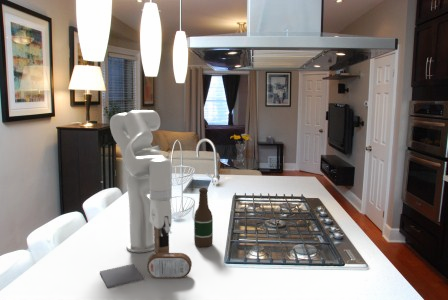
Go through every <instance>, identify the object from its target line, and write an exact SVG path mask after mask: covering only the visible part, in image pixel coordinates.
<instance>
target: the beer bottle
mask: <svg viewBox="0 0 448 300" xmlns="http://www.w3.org/2000/svg"><path fill="white" fill-rule="evenodd" d="M198 192H199V195H198V198H199V199H198V206H197V208H196V209H195V212H194V215H193V216H194V217H193V223H194V224H193V225H194V226H193V227H194V229H193V233H194V236H193V238H194V240H193V241H194V245H195V246H196V247H197V248H201V249H203V248H210V247H211V246H212V245H213V243H214V241H213V238H214V237H213V235H214V234H213V233H214V232H213V231H214V229H213V223H214V222H213V221H214V220H213V214H212V211H211V209H210V208H209V200H208V188H207V187H201V188H199V189H198Z"/></svg>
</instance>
